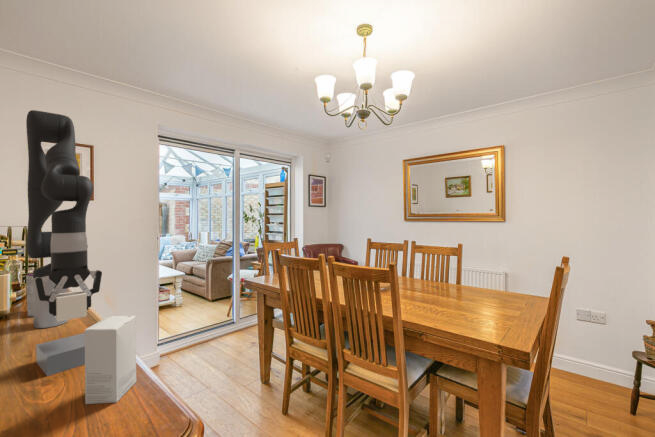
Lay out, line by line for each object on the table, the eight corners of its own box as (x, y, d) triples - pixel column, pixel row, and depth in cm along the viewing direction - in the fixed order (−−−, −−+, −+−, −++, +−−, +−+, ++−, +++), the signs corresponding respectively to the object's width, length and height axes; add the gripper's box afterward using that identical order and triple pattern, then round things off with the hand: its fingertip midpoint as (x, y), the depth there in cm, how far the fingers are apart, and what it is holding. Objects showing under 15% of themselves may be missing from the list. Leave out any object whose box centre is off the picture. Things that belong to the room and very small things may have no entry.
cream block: (54, 316, 83) (54, 294, 83) (83, 311, 87) (82, 290, 87) (57, 321, 79) (56, 298, 79) (86, 316, 83) (86, 293, 83)
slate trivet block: (36, 363, 82) (36, 344, 82) (91, 348, 91) (91, 331, 91) (47, 377, 75) (46, 356, 75) (105, 359, 84) (105, 340, 84)
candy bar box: (56, 308, 131) (55, 269, 131) (65, 308, 130) (65, 269, 130) (25, 316, 120) (25, 274, 120) (36, 317, 120) (35, 274, 119)
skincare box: (109, 383, 71) (107, 315, 71) (139, 381, 72) (138, 314, 71) (83, 405, 63) (81, 329, 62) (117, 403, 63) (116, 327, 63)
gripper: (99, 246, 91) (100, 304, 91) (31, 251, 80) (32, 315, 80) (105, 248, 85) (106, 309, 85) (33, 253, 75) (34, 322, 75)
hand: (70, 312), depth 83 cm, fingers closed on cream block, 6 cm apart
